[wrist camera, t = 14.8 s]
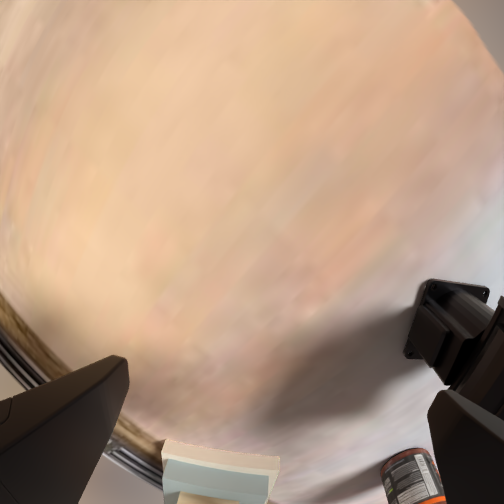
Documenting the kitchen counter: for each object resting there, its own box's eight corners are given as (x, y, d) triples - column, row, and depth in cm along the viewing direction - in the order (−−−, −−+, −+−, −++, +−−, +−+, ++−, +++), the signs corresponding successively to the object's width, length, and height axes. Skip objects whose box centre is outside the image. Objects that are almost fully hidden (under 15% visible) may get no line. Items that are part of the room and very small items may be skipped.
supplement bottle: (428, 463, 25) (456, 534, 15) (382, 482, 26) (401, 557, 15) (428, 437, 24) (463, 517, 13) (376, 459, 25) (399, 545, 14)
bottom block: (279, 451, 26) (279, 470, 23) (262, 499, 29) (261, 515, 26) (167, 434, 26) (161, 452, 24) (171, 485, 29) (167, 501, 26)
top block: (268, 475, 24) (268, 495, 21) (251, 513, 26) (250, 530, 24) (168, 458, 24) (162, 477, 21) (170, 499, 26) (165, 515, 24)
